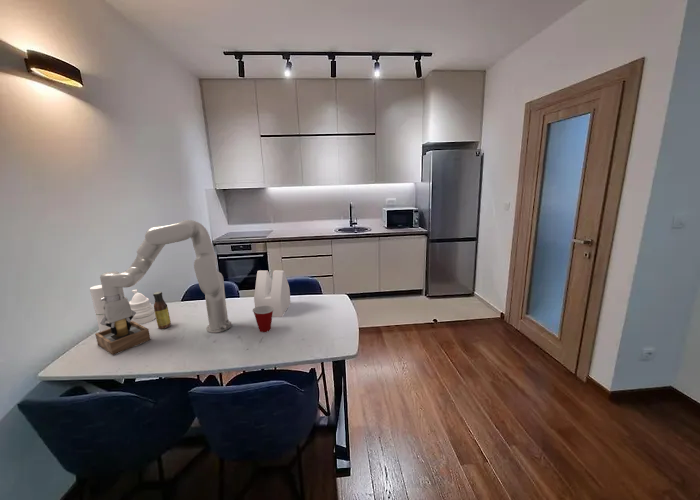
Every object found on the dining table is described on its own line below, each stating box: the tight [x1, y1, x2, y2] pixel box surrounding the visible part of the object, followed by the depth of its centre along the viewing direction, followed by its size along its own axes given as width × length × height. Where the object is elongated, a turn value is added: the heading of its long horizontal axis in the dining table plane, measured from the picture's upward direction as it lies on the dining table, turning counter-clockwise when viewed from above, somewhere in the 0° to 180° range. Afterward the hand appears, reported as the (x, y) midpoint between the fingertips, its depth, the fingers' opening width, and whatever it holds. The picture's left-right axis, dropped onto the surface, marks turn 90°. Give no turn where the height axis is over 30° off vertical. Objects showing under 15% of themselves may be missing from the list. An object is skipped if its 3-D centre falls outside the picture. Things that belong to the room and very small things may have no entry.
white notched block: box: [253, 269, 292, 318], centre depth 179 cm, size 19×15×25 cm
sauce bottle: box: [152, 291, 172, 330], centre depth 162 cm, size 6×6×20 cm
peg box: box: [95, 321, 151, 356], centre depth 148 cm, size 18×16×6 cm
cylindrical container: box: [89, 284, 110, 332], centre depth 160 cm, size 7×7×25 cm
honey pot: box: [129, 289, 156, 325], centre depth 172 cm, size 13×13×18 cm
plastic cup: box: [252, 306, 274, 333], centre depth 156 cm, size 11×11×12 cm
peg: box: [114, 318, 128, 337], centre depth 147 cm, size 5×5×8 cm
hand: (121, 331), depth 148 cm, fingers closed on peg, 5 cm apart
